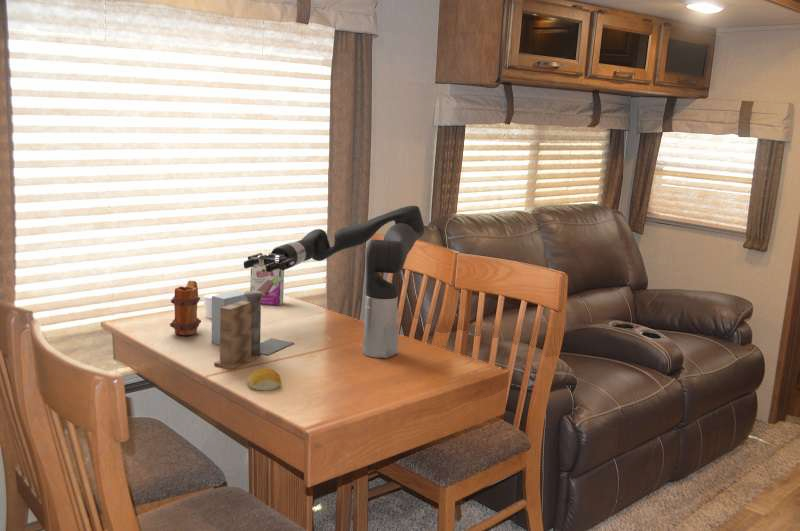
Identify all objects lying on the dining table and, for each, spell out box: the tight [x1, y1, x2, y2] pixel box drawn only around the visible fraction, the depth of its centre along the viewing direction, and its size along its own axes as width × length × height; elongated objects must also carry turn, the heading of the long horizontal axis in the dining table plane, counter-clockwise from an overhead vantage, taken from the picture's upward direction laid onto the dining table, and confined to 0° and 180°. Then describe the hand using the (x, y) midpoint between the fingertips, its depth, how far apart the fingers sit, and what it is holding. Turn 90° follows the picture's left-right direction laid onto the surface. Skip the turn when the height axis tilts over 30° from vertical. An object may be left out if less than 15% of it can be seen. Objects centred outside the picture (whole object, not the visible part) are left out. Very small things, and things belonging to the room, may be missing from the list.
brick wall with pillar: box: [213, 290, 263, 370], centre depth 205 cm, size 16×6×18 cm, turn 156°
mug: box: [169, 280, 202, 336], centre depth 229 cm, size 15×8×15 cm, turn 179°
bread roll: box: [246, 368, 282, 391], centre depth 188 cm, size 8×9×4 cm
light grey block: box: [211, 290, 246, 345], centre depth 222 cm, size 5×10×14 cm, turn 146°
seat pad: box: [260, 338, 295, 356], centre depth 219 cm, size 14×8×1 cm, turn 157°
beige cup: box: [203, 293, 220, 319], centre depth 249 cm, size 7×7×7 cm
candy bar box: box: [249, 260, 285, 307], centre depth 268 cm, size 11×5×16 cm, turn 82°
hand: (255, 266), depth 227 cm, fingers open, 8 cm apart
